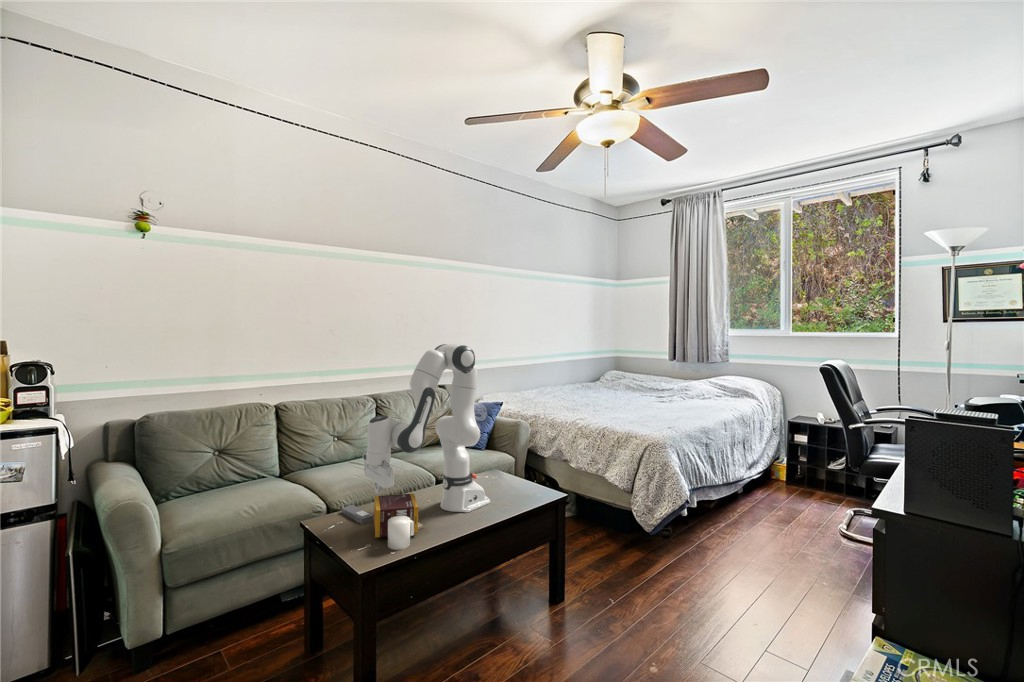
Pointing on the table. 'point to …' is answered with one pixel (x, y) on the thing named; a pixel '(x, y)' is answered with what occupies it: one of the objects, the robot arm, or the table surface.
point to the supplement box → (394, 511)
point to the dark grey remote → (357, 514)
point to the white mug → (399, 532)
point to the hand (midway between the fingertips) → (378, 493)
